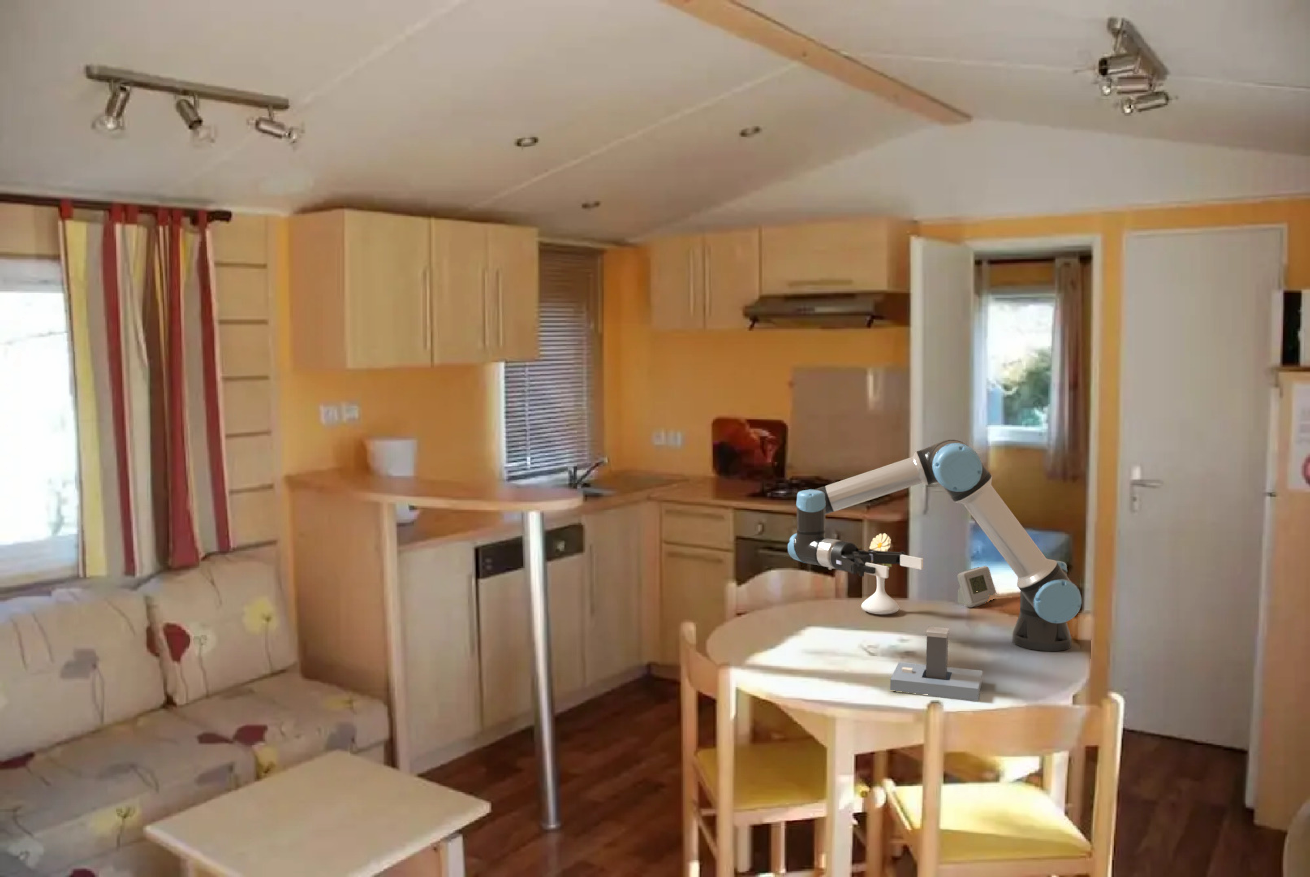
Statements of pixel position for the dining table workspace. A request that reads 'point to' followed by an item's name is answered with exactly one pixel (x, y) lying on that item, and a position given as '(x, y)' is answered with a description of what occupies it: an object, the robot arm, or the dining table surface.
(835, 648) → the dining table surface
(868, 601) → the flower in vase
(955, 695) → the socket plate
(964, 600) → the digital clock
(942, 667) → the plug
